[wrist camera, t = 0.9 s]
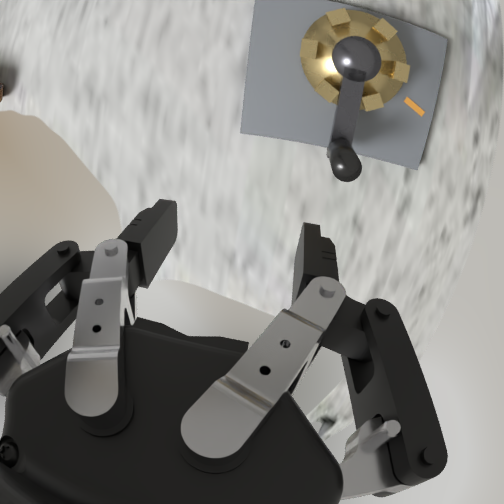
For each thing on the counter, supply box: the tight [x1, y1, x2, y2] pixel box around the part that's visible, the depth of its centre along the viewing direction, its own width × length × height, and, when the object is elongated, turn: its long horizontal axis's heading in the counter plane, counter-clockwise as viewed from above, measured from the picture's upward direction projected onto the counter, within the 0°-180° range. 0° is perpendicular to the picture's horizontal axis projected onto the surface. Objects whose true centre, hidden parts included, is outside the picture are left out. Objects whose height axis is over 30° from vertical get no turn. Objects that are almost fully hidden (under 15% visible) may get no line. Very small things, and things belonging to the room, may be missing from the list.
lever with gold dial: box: [300, 8, 410, 182], centre depth 22 cm, size 15×10×8 cm, turn 174°
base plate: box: [240, 0, 448, 170], centre depth 26 cm, size 16×20×2 cm
